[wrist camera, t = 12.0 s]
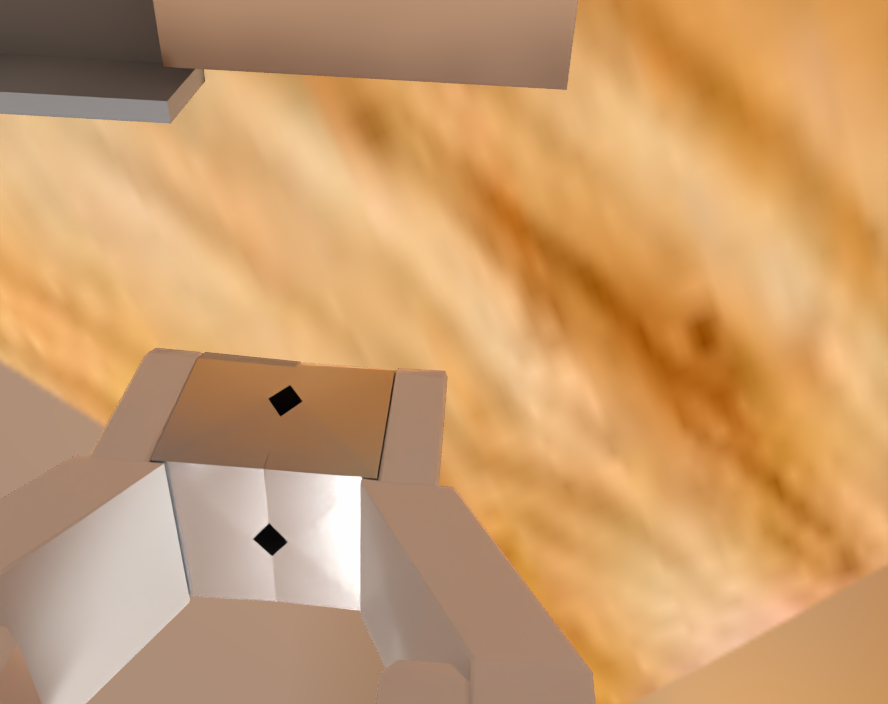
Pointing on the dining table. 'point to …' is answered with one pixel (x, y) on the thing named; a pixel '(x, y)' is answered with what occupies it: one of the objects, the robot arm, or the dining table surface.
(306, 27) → the plate
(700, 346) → the dining table surface
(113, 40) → the box
